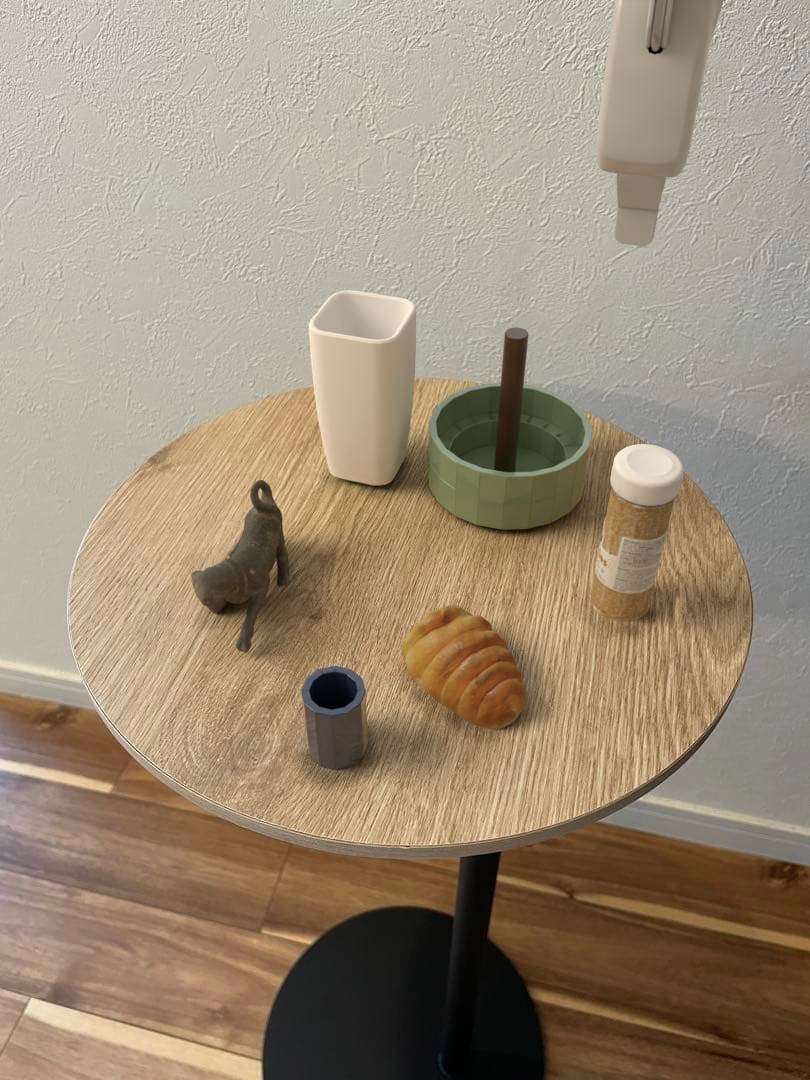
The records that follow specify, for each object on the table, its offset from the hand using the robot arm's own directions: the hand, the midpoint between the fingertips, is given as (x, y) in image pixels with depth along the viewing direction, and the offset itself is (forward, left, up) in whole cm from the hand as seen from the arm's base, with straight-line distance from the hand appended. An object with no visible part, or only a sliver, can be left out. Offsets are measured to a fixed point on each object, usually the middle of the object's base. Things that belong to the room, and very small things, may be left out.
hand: (644, 200), depth 49 cm
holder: (+13, +14, -32) cm, 37 cm away
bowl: (+8, -16, -32) cm, 36 cm away
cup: (+20, -15, -32) cm, 40 cm away
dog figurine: (+24, +3, -32) cm, 40 cm away
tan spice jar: (-3, -4, -32) cm, 32 cm away
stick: (+8, -16, -31) cm, 36 cm away
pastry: (+6, +6, -32) cm, 33 cm away
